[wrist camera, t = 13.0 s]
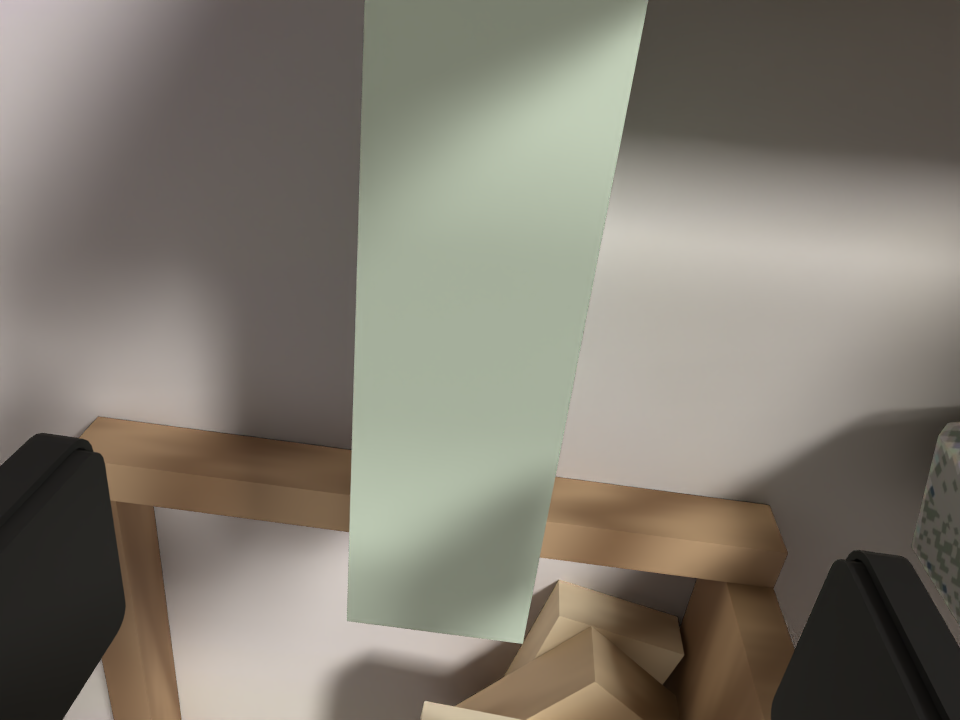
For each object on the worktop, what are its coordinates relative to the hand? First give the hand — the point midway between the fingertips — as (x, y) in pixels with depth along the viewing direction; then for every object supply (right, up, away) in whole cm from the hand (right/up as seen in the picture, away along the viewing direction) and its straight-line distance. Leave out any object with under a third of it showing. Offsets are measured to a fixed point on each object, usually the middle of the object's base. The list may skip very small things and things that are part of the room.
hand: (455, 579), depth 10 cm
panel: (+1, +8, +13) cm, 15 cm away
